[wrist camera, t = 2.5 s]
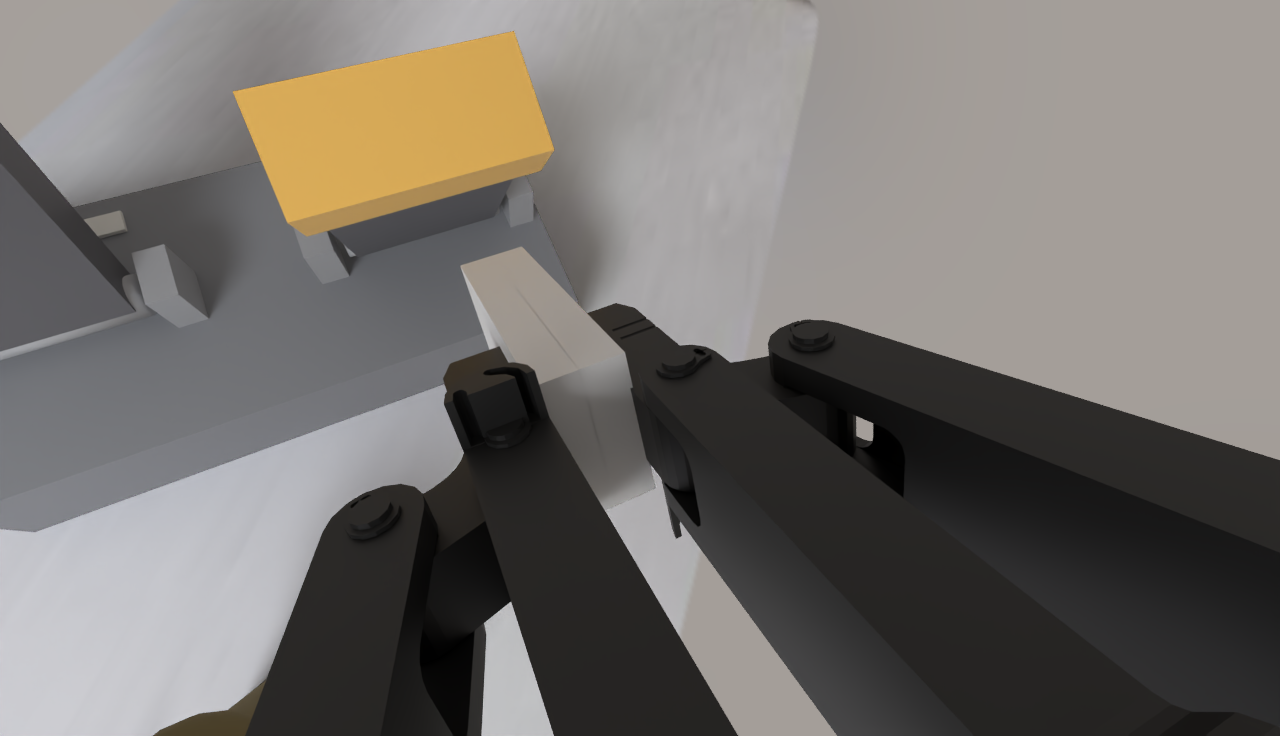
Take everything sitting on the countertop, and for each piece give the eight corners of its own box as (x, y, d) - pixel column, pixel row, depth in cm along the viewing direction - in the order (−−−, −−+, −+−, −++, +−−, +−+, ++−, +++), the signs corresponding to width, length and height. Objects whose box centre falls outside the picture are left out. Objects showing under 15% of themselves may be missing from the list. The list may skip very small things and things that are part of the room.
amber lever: (502, 230, 31) (554, 149, 17) (358, 273, 29) (287, 223, 15) (479, 166, 31) (514, 31, 17) (331, 206, 29) (232, 91, 15)
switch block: (34, 531, 28) (-132, 516, 21) (-13, 301, 31) (-175, 220, 24) (572, 337, 35) (581, 277, 28) (495, 163, 38) (486, 69, 31)
